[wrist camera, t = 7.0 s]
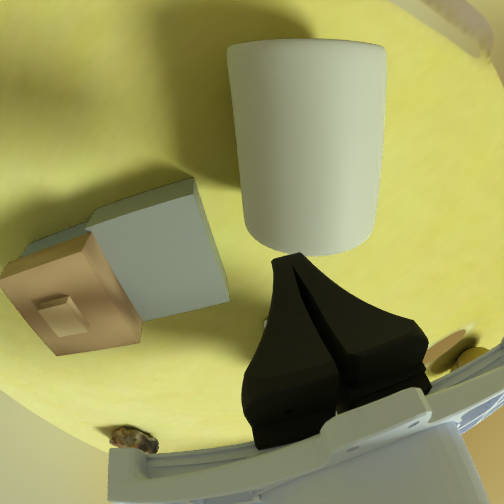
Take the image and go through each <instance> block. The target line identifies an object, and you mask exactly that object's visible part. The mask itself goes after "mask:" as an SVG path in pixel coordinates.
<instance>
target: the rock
mask: <svg viewBox="0 0 504 504" xmlns="http://www.w3.org/2000/svg"><path fill="white" fill-rule="evenodd" d="M109 442H110V444H112V445H114V446H117V447H119V448H137V449H140V450H142V451H143V452H144V453H145V454H156V453H157V452H158V449H159V446H158V444H159V443H158V440H157V439H156V438H153V437H151V436H149V435H147V434H144V433H142V432H141V431H138V430H137V429H130V428H126V427H122V428H120V429H119V430H118V431H116V432H114V434H113V435H111V438H110V441H109Z"/></svg>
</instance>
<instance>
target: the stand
mask: <svg viewBox="0 0 504 504" xmlns="http://www.w3.org/2000/svg"><path fill="white" fill-rule="evenodd" d="M84 229H85V231H86V233H90V232H92V233H93V235H94V237H95V239H96V241H97V243H98V245H99V246H100V248H101V250H102V252H103V254H104V256H105V258H106V259H107V261H108V263H109V265H110V267H111V269H112V270H113V272H114V274H115V276H116V277H117V279H118V281H119V283H120V284H121V286H122V288H123V289H124V291H125V293H126V294H127V296H128V298H129V299H130V301H131V303H132V304H133V306H134V308H135V309H136V311H137V312H138V314H139V316H140V317H141V319H142V320H143V321H148V320H153V319H157V318H162V317H166V316H170V315H175V314H179V313H184V312H188V311H192V310H196V309H201V308H205V307H209V306H213V305H217V304H221V303H225V302H229V301H230V297H229V290H228V283H227V277H226V274H225V271H224V268H223V265H222V262H221V259H220V256H219V253H218V250H217V247H216V244H215V241H214V238H213V235H212V232H211V229H210V226H209V223H208V220H207V217H206V214H205V210H204V207H203V204H202V201H201V198H200V195H199V192H198V188H197V185H196V182H195V179H194V177H193V178H190V179H186V180H183V181H179V182H176V183H173V184H169V185H166V186H163V187H160V188H156V189H153V190H150V191H147V192H144V193H141V194H138V195H135V196H132V197H129V198H126V199H123V200H120V201H117V202H114V203H111V204H108V205H106V206H103V207H100V208H97V209H96V210H95V211H94V213H93V215H92V216H91V218H90V220H89V222H88V223H87V225H86V227H85V228H84Z"/></svg>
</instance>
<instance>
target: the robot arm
mask: <svg viewBox="0 0 504 504" xmlns="http://www.w3.org/2000/svg"><path fill="white" fill-rule="evenodd" d="M271 263H272V268H273V293H272V300H271V306H270V311H269V316H268V319H267V320H265V321H264V327H265V330H264V333H263V336H262V338H261V341H260V343H259V345H258V348H257V350H256V352H255V355H254V357H253V359H252V360H251V362H250V364H249V366H248V368H247V369H246V371H245V373H244V379H243V384H242V393H241V401H242V407H243V412H244V416H245V417H246V419H247V421H248V422H249V424H250V426H251V427H252V431H253V437H254V441H252V442H247V443H242V444H236V445H230V446H224V447H217V448H210V449H202V450H194V451H184V452H173V453H159V454H145V453H144V452H143V451H142V450H140V449H137V448H110V449H109V465H108V501H109V502H112V503H115V504H490V501H489V499H488V496H487V493H486V491H485V488H484V486H483V484H482V481H481V479H480V476H479V474H478V471H477V469H476V467H475V465H474V462H473V460H472V458H471V455H470V453H469V451H468V449H467V447H466V444H465V442H464V440H463V438H462V436H461V434H463V433H464V432H466V431H467V430H469V429H470V428H472V427H473V426H475V425H476V424H477V423H479V422H481V421H482V420H483V419H485V418H486V417H487V416H489V415H490V414H492V413H493V412H494V411H495V410H497V409H498V408H499V407H501V406H502V405H503V404H504V337H503V339H502V341H501V343H500V344H499V345H497V346H496V347H494V348H492V349H491V350H489V351H487V352H486V353H484V354H483V355H481V356H479V357H477V358H476V359H474V360H472V361H471V362H469V363H467V364H465V365H463V366H462V367H460V368H458V369H456V370H454V371H452V372H450V373H448V374H446V375H445V376H443V377H441V378H439V379H437V380H435V381H433V382H430V381H429V379H428V378H427V376H426V374H425V371H426V367H425V366H424V364H423V362H422V361H423V359H424V356H425V353H426V351H427V348H428V344H429V342H428V339H427V337H426V335H425V334H424V332H423V331H422V330H421V328H420V327H419V326H418V325H417V324H416V322H415V321H414V320H411V319H407V318H404V317H401V316H397V315H394V314H391V313H389V312H386V311H383V310H381V309H379V308H376V307H374V306H372V305H370V304H368V303H366V302H364V301H362V300H360V299H359V298H357V297H355V296H354V295H352V294H350V293H349V292H347V291H346V290H344V289H343V288H341V287H340V286H339V285H337V284H336V283H334V282H333V281H332V280H331V279H329V278H328V277H327V276H326V275H325V274H323V273H322V272H321V271H320V270H319V269H318V268H316V267H315V266H314V265H313V264H312V263H311V262H310V261H309V260H308V259H307V258H306V257H305V256H304V255H303V254H302V253H301V252H298V253H294V254H290V255H286V256H283V257H279V258H275V259H273V260H272V261H271Z"/></svg>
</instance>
